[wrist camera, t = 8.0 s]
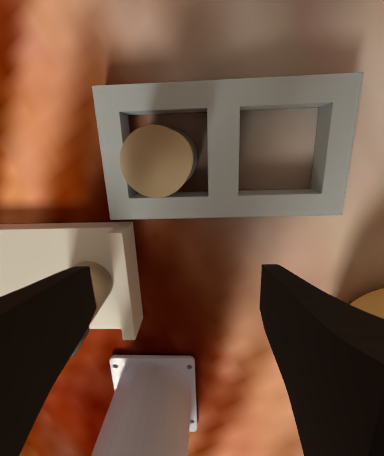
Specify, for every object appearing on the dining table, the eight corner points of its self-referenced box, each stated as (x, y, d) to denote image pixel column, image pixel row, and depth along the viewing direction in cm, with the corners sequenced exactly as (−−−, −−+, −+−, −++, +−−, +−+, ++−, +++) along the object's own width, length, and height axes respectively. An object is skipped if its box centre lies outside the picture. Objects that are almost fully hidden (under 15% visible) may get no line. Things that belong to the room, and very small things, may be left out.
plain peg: (118, 303, 21) (85, 362, 15) (70, 303, 21) (21, 361, 16) (111, 258, 20) (74, 304, 14) (61, 259, 20) (4, 304, 14)
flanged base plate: (143, 317, 23) (135, 340, 20) (-6, 317, 24) (-32, 338, 21) (132, 221, 20) (121, 233, 18) (-35, 224, 21) (-70, 236, 18)
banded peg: (203, 135, 18) (202, 130, 12) (191, 190, 19) (185, 208, 14) (147, 122, 18) (121, 111, 12) (139, 178, 19) (111, 192, 14)
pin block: (328, 208, 19) (342, 214, 17) (119, 212, 20) (110, 219, 18) (345, 80, 17) (363, 72, 15) (104, 92, 18) (92, 86, 16)
